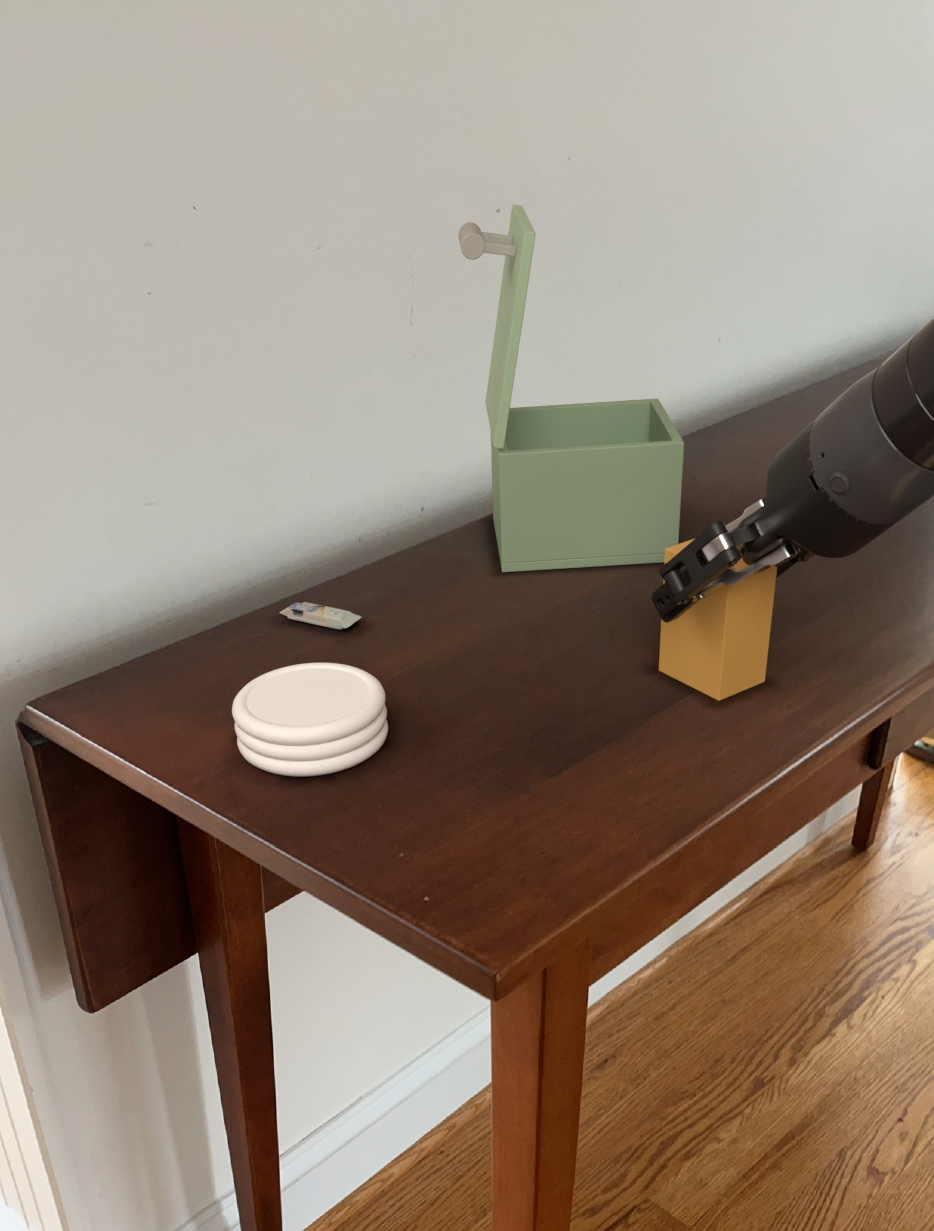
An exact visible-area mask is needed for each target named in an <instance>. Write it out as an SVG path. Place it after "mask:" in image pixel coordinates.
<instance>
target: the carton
mask: <svg viewBox="0 0 934 1231" xmlns="http://www.w3.org/2000/svg"><path fill="white" fill-rule="evenodd" d="M694 539H695V538H692V539H689V540H687V541H683V542H681V543H678V544H677V545H674V546H671V547H669V548H666V549H665V559H664V562H663V565H664V564H665V563H667V562H668V561H670V560H671V559H672V558H673V557H674V556H675V555H677V554H678V553H679V552H680V551H681V550H682V549H684V548H685V547H686V546H687V545H688V544H689V543H691V542H692V541H693V540H694ZM749 566H750V565H747V564H746V563H745V562H744V561H743V559H742V558H741V559H740V560H739V561H738V562H737V564H736V565H735V566H734V568H735V570H736V571H737V572H739V571H742V570H744V569H745V568H747V567H749ZM776 574H777V567H774V566H772V567H769V568H768V569H766V570H764V571H763V572H761V573H759V574H758V575H756V576H754V577H752V578H751V579H749V580H747V581H746V582H744V583H742V584H741V585H739V586H737V587H732V586H728V585H726V584H725V585H723V586H722V587H720V588H718V589H716V590H715V591H713V592H711V593H710V594H708V595H706V596H705V598H704V599H702V600H700V601H698V602H697V603H695V604H694V605H693V606H692V607H691V608H689V609H688V610H687V611H686V612H684V613H683V614H682V615H681V616H680V617H678V618H677V619H676V620H673V621H670V622H667V623H666V622H664V621H663V620H662V618H661V617H660V637H659V638H660V639H659V655H658V656H659V657H658V672H661V673H663V674H665V675H667V676H669V677H671V678H672V679H674V680H677V681H679V682H680V683H682V684H684V685H686V686H689V687H691V688H692V689H695V690H697V691H698V692H700V693H702V694H704V695H706V696H708V697H710V698H712V699H714V700H716V701H718V702H720V701H722V700H725V699H727V698H729V697H732V696H734V695H737V694H739V693H741V692H743V691H746V690H748V689H750V688H754V687H755V686H758V685H760V684H763V683H765V681H766V675H767V664H768V655H769V648H770V637H771V629H772V621H773V620H772V619H773V611H774V610H773V609H774V601H775V592H776V582H777V578H776ZM662 579H663V578H662ZM664 583H665V581H664V579H663V581H662V585H663V584H664Z"/></svg>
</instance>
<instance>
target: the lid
mask: <svg viewBox="0 0 934 1231" xmlns="http://www.w3.org/2000/svg"><path fill="white" fill-rule="evenodd" d="M507 233H508V234H500V233H492V232H487V231H482V229H481V227H480V226H479V225H478V224H477V223H475V222H471V221H469V222H465V223H463V224H462V225H461V226H460V228H459V230H458V242H459V246H460V251H461V253H462V255H463V256H464V257H465V259H468V260H471V261H473V260H478V259H479V258H481V257H482V255H484V254H493V255H497V256H504V261H503V262H504V263H503V270H502V278H501V285H500V292H499V300H498V308H497V314H496V322H495V328H494V330H495V331H494V335H493V336H494V337H493V343H492V351H491V357H490V366H489V372H488V380H487V387H486V395H485V408H486V413H487V419H488V425H489V429H490V436H491V435H492V440H493V445H494V448H501V449H503V448H504V444H505V437H506V430H507V423H508V417H509V410H510V408H511V402H512V395H513V390H514V382H515V376H516V368H517V362H518V355H519V349H520V341H521V335H522V328H523V321H524V314H525V309H526V308H525V307H526V300H527V294H528V288H529V281H530V273H531V267H532V261H533V253H534V247H535V241H536V240H535V239H536V232H535V229H534V227H533V225H532V223H531V221H530V219H529V217H528V215H527V213H526V211H525V209H524V207H523V205H520V204H512V205H511V211H510V220H509V227H508V232H507Z"/></svg>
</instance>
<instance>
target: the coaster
mask: <svg viewBox="0 0 934 1231" xmlns="http://www.w3.org/2000/svg"><path fill="white" fill-rule="evenodd" d="M386 697H387V696H386V692H385V689H384V687H383V685H382V683H381V682H380V681H379V680H378V678H377V677H375V676H374V675H372V674H371V673H369V672H367V671H366V670H363V669H361V668H358V667H356V666H352V665H348V664H343V663H337V662H306V663H298V664H292V665H288V666H284V667H280V668H276V669H273V670H271V671H268V672H265V673H263V674H261V675H259V676H257V677H256V678H254V679H252V680H251V681H249V682H248V683H247V684H245V685H244V686H243V687H242V688H241V689H240V690H239V691H238V693H237V694H236V695H235V697H234V699H233V701H232V706H231V715H232V719H233V721H234V732H235V734H236V736H237V737H236V744H237V748H238V751H239V752H240V754H241V755H242V758H244V759H245V760H246V761H247V762H248V763H249V764H251V765H252V766H254V767H256V768H257V769H260V770H262V771H265V772H268V773H270V774H274V775H279V776H286V777H296V778H297V777H298V778H303V777H306V778H307V777H318V776H325V775H331V774H334V773H338V772H342V771H345V770H348V769H350V768H353V767H355V766H357V765H359V764H361V763H364V762H365V761H367V760H368V759H369V758H371V757H372V756H373V755H375V754H376V753H377V752H378V751H379V750H380V749H381V748H382V747H383V746H384V744H385V742H386V740H387V736H388V733H389V724H388V720H387V717H388V709H387V706H386V704H385V703H386Z"/></svg>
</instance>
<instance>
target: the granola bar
mask: <svg viewBox="0 0 934 1231" xmlns="http://www.w3.org/2000/svg"><path fill="white" fill-rule="evenodd" d="M279 614H281V615H283V616H286V617H287V619H288V620H289V619H290V620H292V621H298V622H302V623H307V624H311V625H316V626H321V627H325V628H329V629H333V630H343V629H347V628H348V629H349V627H351V626H352V625H353V624H354V623H356V622H358V621H359V620H360V619H362V616H361V615H359V614H355V613H353V612H352V611H349V610H346V609H341V608H336V607H332V606H331V607H330V606H327V605H322V604H317V603H311V602H306V601H301V600H296V601H295V602H293V603H292V604H290V605H289V606H287V607H285V608H284V609H282V610H281V611H279Z"/></svg>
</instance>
